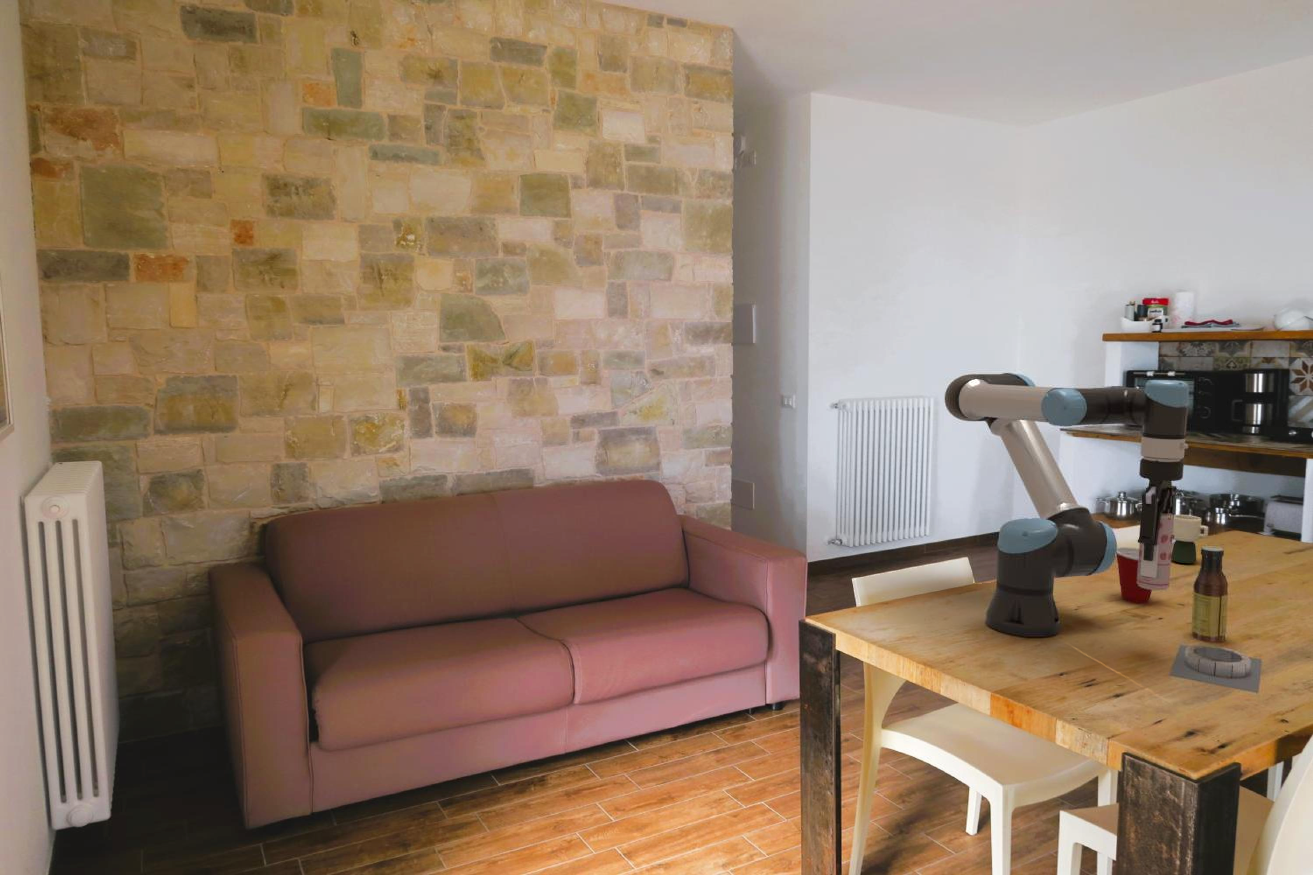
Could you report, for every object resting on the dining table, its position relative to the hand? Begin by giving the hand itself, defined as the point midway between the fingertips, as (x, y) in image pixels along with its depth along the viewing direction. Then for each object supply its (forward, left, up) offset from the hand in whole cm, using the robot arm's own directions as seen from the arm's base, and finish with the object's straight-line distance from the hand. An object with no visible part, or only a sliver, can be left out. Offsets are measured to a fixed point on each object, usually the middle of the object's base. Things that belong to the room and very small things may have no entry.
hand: (1153, 572), depth 179 cm
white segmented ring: (+7, -10, -16) cm, 20 cm away
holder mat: (+7, -10, -17) cm, 21 cm away
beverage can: (0, 0, -3) cm, 3 cm away
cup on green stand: (+59, +61, -17) cm, 87 cm away
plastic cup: (+22, +32, -17) cm, 42 cm away
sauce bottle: (+18, +5, -17) cm, 25 cm away
